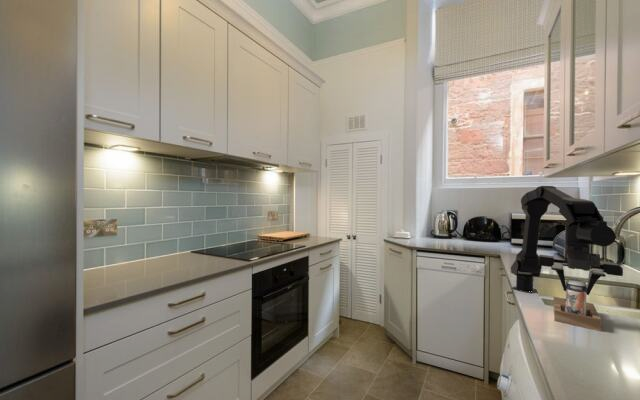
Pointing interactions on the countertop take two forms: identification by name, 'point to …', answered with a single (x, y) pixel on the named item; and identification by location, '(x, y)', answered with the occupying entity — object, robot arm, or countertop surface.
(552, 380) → the countertop surface
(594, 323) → the socket board
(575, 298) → the beer can
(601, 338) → the countertop surface
